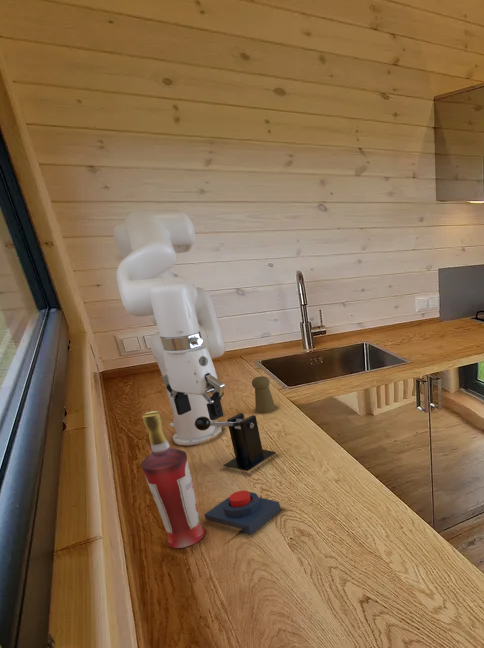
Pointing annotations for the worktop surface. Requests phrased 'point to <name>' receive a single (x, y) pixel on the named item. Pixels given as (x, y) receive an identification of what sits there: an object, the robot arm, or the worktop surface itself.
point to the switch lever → (214, 423)
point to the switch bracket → (246, 444)
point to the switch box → (244, 513)
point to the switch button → (240, 498)
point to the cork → (263, 395)
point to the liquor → (171, 486)
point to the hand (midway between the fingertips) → (200, 415)
